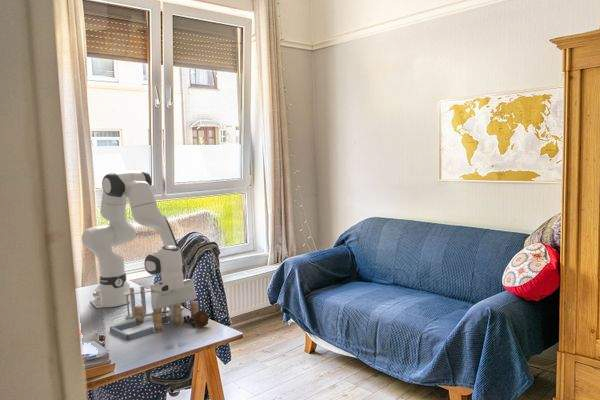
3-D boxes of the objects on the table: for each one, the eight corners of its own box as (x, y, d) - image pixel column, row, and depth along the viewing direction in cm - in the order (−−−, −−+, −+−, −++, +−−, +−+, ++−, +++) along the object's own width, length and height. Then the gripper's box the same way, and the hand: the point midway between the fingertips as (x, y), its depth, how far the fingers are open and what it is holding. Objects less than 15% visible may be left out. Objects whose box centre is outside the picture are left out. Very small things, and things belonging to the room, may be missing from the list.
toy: (194, 308, 208) (212, 307, 197) (198, 324, 208) (215, 324, 197) (174, 313, 202) (191, 313, 191) (177, 331, 202) (194, 331, 190)
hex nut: (155, 322, 205) (154, 315, 204) (165, 319, 208) (165, 311, 208) (162, 325, 201) (161, 317, 200) (172, 322, 204) (172, 314, 204)
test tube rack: (125, 319, 211) (123, 290, 210) (125, 316, 215) (122, 287, 214) (183, 309, 221) (181, 281, 219) (181, 307, 225) (179, 279, 223)
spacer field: (134, 323, 205) (132, 307, 204) (177, 310, 220) (176, 295, 219) (156, 332, 192) (155, 315, 191) (201, 318, 207) (200, 302, 206)
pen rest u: (110, 332, 195) (109, 327, 195) (135, 324, 203) (135, 319, 203) (127, 340, 185) (126, 335, 185) (153, 332, 193) (153, 327, 193)
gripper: (189, 277, 217) (192, 306, 218) (148, 287, 202) (150, 319, 203) (197, 278, 212) (200, 309, 214) (155, 289, 198) (158, 322, 199)
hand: (175, 314), depth 208 cm, fingers closed
